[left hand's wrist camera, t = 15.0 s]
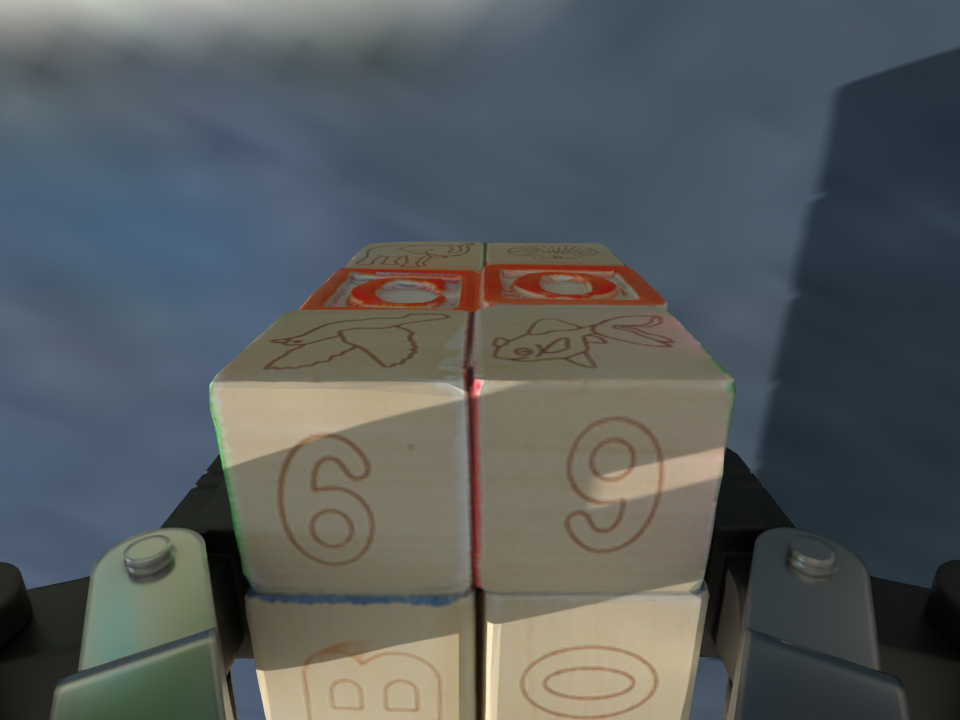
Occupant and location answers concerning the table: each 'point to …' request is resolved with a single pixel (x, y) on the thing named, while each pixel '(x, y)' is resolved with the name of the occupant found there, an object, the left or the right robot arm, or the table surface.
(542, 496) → the stack of blocks
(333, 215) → the table surface
